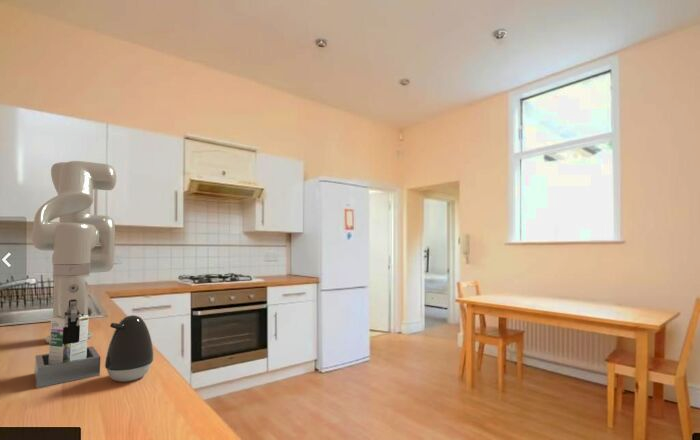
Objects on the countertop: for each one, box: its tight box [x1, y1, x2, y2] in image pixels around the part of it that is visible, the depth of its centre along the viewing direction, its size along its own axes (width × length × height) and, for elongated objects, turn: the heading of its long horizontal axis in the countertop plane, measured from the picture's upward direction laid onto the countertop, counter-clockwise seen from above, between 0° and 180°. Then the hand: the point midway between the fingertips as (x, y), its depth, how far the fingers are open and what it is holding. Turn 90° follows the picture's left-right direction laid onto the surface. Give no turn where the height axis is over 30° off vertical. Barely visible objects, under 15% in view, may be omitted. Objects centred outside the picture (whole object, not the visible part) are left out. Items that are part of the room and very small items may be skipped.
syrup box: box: [48, 314, 90, 365], centre depth 92 cm, size 6×6×14 cm
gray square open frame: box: [34, 346, 101, 389], centre depth 91 cm, size 12×12×4 cm
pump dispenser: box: [104, 315, 154, 383], centre depth 90 cm, size 10×10×15 cm
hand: (68, 338), depth 92 cm, fingers open, 9 cm apart
